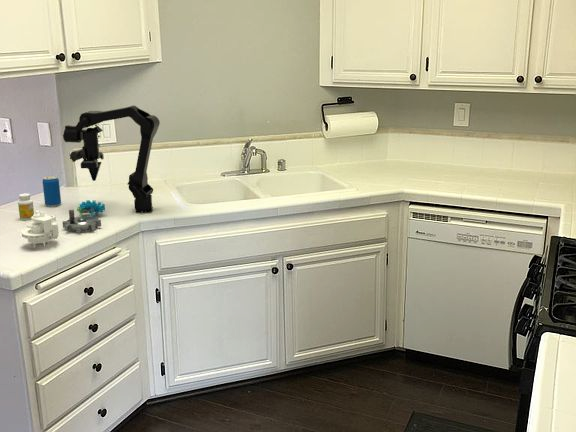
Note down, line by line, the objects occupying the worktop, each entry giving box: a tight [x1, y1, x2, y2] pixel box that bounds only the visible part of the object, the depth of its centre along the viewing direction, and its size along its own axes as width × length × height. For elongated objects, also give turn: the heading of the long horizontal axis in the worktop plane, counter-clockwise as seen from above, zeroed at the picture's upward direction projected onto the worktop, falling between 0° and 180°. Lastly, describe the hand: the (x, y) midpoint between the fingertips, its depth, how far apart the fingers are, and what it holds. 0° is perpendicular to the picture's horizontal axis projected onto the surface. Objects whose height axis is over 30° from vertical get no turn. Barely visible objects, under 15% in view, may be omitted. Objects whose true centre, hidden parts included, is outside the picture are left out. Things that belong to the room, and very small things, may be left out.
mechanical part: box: [20, 209, 60, 248], centre depth 225 cm, size 11×12×12 cm
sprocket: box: [62, 209, 102, 233], centre depth 242 cm, size 14×14×8 cm
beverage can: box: [42, 175, 62, 208], centre depth 272 cm, size 6×6×12 cm
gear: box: [76, 199, 106, 217], centre depth 257 cm, size 11×6×10 cm
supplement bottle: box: [17, 193, 35, 221], centre depth 254 cm, size 5×5×10 cm
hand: (94, 180), depth 265 cm, fingers closed
